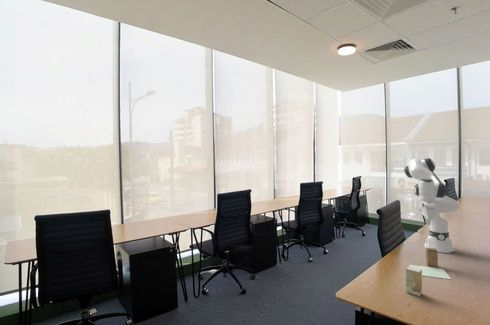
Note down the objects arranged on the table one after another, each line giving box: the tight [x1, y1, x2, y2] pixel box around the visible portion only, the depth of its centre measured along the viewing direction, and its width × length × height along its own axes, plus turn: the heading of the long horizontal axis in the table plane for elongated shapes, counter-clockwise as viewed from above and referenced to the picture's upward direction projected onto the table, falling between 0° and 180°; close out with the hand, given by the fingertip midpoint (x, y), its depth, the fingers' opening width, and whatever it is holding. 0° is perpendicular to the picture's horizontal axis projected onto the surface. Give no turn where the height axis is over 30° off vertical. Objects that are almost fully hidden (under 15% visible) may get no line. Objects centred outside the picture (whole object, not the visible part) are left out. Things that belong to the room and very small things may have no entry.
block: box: [425, 248, 439, 268], centre depth 165 cm, size 5×5×11 cm
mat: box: [408, 264, 452, 280], centre depth 157 cm, size 16×18×1 cm
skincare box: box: [405, 265, 423, 297], centre depth 132 cm, size 6×4×12 cm
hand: (427, 224), depth 173 cm, fingers open, 3 cm apart
